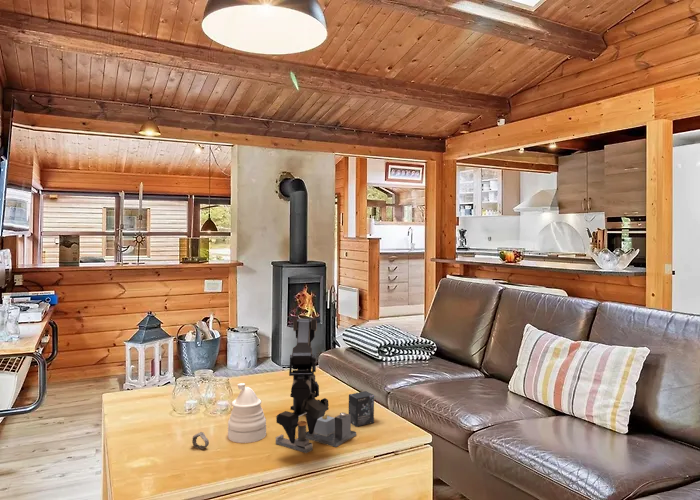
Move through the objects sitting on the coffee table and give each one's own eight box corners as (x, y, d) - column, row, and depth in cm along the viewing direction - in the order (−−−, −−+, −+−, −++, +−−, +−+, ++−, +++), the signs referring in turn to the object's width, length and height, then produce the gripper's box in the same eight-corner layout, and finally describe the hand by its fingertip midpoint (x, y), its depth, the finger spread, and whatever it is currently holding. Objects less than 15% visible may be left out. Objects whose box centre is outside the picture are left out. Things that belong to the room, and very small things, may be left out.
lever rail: (275, 443, 169) (275, 437, 169) (281, 440, 172) (281, 434, 172) (306, 453, 162) (306, 446, 162) (312, 449, 164) (312, 443, 164)
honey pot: (233, 445, 168) (233, 391, 167) (223, 432, 179) (223, 381, 179) (271, 438, 174) (271, 385, 173) (259, 426, 185) (259, 376, 184)
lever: (294, 444, 165) (294, 422, 164) (300, 441, 167) (300, 419, 167) (303, 447, 162) (303, 425, 162) (309, 444, 165) (309, 422, 165)
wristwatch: (197, 444, 169) (197, 429, 169) (211, 448, 166) (211, 432, 166) (189, 448, 166) (189, 432, 166) (203, 452, 163) (203, 436, 163)
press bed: (302, 437, 174) (302, 411, 174) (323, 426, 184) (323, 401, 184) (336, 447, 167) (336, 419, 166) (356, 435, 177) (356, 409, 176)
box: (356, 427, 184) (356, 398, 184) (348, 422, 189) (348, 394, 188) (374, 423, 188) (374, 394, 188) (365, 418, 193) (365, 390, 193)
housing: (314, 432, 176) (314, 414, 176) (323, 427, 180) (323, 410, 180) (326, 435, 173) (326, 417, 173) (334, 430, 177) (334, 413, 177)
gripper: (303, 402, 152) (303, 454, 153) (339, 387, 168) (339, 434, 168) (275, 396, 158) (275, 446, 159) (312, 381, 174) (312, 427, 174)
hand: (302, 438), depth 165 cm, fingers open, 9 cm apart
